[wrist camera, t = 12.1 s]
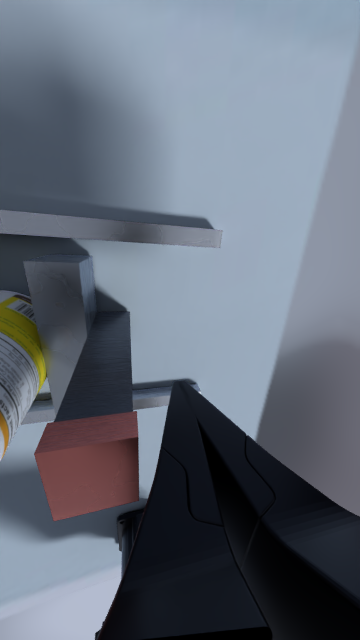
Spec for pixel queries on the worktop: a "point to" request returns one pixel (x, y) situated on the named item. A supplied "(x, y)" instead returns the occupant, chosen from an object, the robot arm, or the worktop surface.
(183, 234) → the frame
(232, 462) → the robot arm
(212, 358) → the worktop surface
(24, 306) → the supplement bottle
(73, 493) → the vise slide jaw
